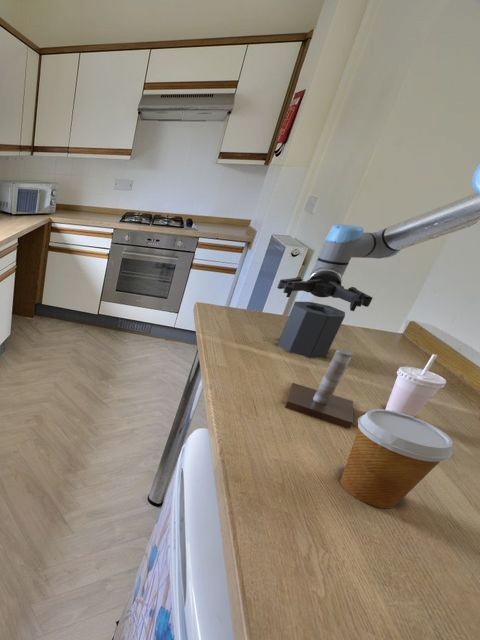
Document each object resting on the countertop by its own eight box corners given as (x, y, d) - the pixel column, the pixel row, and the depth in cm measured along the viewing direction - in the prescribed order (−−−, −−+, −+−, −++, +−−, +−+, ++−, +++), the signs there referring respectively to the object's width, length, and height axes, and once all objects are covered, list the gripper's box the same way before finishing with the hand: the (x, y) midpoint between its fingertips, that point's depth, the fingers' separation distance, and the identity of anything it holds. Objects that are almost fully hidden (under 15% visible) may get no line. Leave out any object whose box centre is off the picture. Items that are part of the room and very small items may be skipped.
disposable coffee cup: (423, 505, 59) (471, 439, 54) (391, 527, 55) (439, 458, 50) (346, 463, 67) (381, 401, 62) (313, 479, 63) (348, 415, 58)
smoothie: (373, 416, 80) (410, 352, 74) (375, 404, 84) (410, 342, 78) (419, 431, 76) (462, 365, 70) (419, 418, 80) (459, 354, 74)
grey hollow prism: (324, 352, 106) (345, 308, 101) (323, 365, 99) (344, 319, 94) (278, 340, 112) (296, 298, 107) (274, 351, 105) (292, 308, 100)
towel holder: (349, 407, 82) (379, 352, 77) (349, 429, 76) (382, 370, 70) (289, 388, 88) (313, 336, 83) (284, 407, 81) (310, 351, 76)
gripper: (373, 305, 116) (377, 326, 102) (270, 284, 131) (260, 300, 116) (386, 280, 113) (392, 297, 98) (279, 261, 127) (270, 274, 113)
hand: (320, 299), depth 107 cm, fingers open, 13 cm apart
